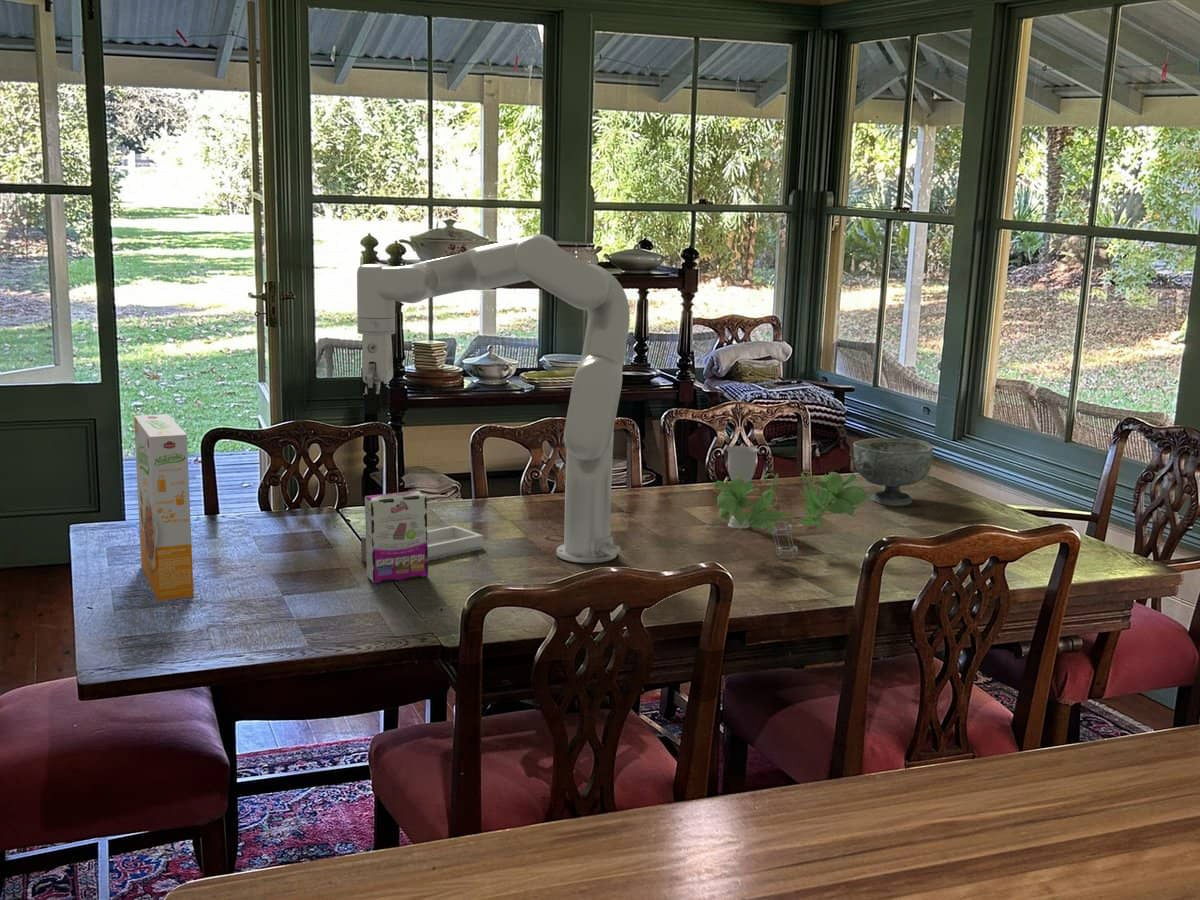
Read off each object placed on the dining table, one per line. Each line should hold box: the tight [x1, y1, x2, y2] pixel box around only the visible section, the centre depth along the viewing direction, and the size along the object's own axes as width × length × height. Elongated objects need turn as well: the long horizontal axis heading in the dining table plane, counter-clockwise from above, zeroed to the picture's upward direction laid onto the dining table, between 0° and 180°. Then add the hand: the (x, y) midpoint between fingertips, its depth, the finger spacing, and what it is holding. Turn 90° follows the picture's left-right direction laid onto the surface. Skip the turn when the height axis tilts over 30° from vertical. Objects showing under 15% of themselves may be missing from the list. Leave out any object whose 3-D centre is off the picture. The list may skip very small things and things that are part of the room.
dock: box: [427, 525, 484, 562], centre depth 256 cm, size 10×16×3 cm, turn 133°
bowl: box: [852, 437, 934, 507], centre depth 308 cm, size 20×19×15 cm
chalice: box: [726, 445, 759, 529], centre depth 280 cm, size 7×7×18 cm
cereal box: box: [133, 413, 195, 601], centre depth 229 cm, size 22×6×30 cm, turn 27°
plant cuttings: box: [705, 471, 869, 559], centre depth 261 cm, size 35×17×22 cm
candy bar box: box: [364, 490, 429, 584], centre depth 236 cm, size 11×5×16 cm, turn 117°
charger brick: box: [360, 535, 367, 563], centre depth 247 cm, size 4×4×6 cm
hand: (376, 409), depth 251 cm, fingers open, 9 cm apart
